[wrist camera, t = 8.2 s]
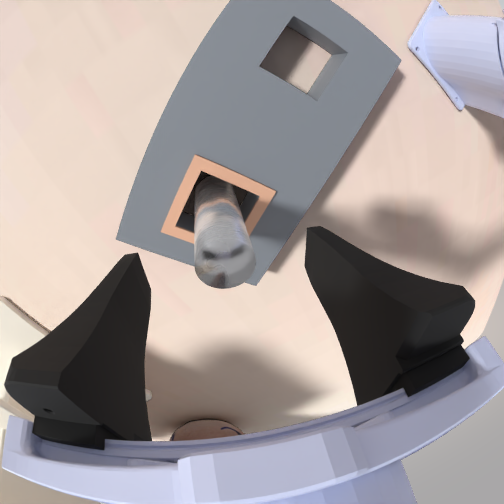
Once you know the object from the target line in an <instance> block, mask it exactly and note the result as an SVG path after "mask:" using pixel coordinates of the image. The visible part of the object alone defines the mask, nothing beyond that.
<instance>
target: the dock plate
mask: <svg viewBox="0 0 504 504" xmlns="http://www.w3.org/2000/svg"><path fill="white" fill-rule="evenodd" d="M286 25H287V26H289V27H290V28H292V29H294V30H295V31H297V32H299V33H300V34H302V35H303V36H305V37H307V38H308V39H310V40H311V41H313V42H314V43H316V44H317V45H319V46H320V47H322V48H323V49H324V50H326V51H327V52H329V53H330V54H331V55H332V56H331V58H330V59H329V61H328V62H327V64H326V65H325V67H324V68H323V70H322V71H321V73H320V74H319V76H318V78H317V79H316V81H315V82H314V84H313V85H312V87H311V89H310V90H309V92H308V93H307V94H305V93H304V92H302V91H301V90H299V89H297V88H296V87H294V86H293V85H291V84H289V83H288V82H286V81H284V80H282V79H281V78H279V77H277V76H276V75H274V74H272V73H270V72H268V71H267V70H265V69H263V68H261V67H259V66H260V64H261V63H262V61H263V59H264V58H265V56H266V55H267V53H268V52H269V50H270V49H271V47H272V46H273V44H274V43H275V41H276V40H277V38H278V37H279V35H280V34H281V33H282V31H283V30H284V28H285V27H286ZM401 61H402V60H401V59H400V58H399V57H398V56H397V55H396V54H395V53H394V52H393V51H392V50H391V49H390V48H389V47H388V46H387V45H385V44H384V43H383V42H382V41H381V40H380V39H379V38H378V37H377V36H376V35H374V34H373V33H372V32H371V31H370V30H369V29H367V28H366V27H365V26H364V25H363V24H361V23H360V22H359V21H358V20H356V19H355V18H354V17H353V16H351V15H350V14H349V13H347V12H346V11H345V10H343V9H342V8H341V7H339V6H338V5H336V4H335V3H334V2H332V1H331V0H230V1H229V3H228V4H227V5H226V7H225V8H224V10H223V11H222V12H221V14H220V15H219V17H218V18H217V19H216V21H215V22H214V24H213V25H212V27H211V28H210V30H209V31H208V33H207V34H206V36H205V38H204V39H203V41H202V42H201V44H200V45H199V47H198V49H197V50H196V52H195V54H194V55H193V57H192V59H191V60H190V62H189V64H188V66H187V67H186V69H185V71H184V73H183V75H182V76H181V78H180V80H179V82H178V84H177V86H176V88H175V90H174V91H173V93H172V95H171V97H170V99H169V101H168V103H167V105H166V107H165V109H164V112H163V114H162V116H161V118H160V120H159V122H158V124H157V127H156V129H155V131H154V133H153V136H152V138H151V140H150V143H149V145H148V147H147V150H146V152H145V155H144V157H143V160H142V162H141V165H140V167H139V170H138V173H137V175H136V178H135V181H134V184H133V186H132V189H131V192H130V195H129V198H128V201H127V204H126V207H125V210H124V213H123V217H122V220H121V223H120V226H119V230H118V233H117V237H116V240H119V241H122V242H124V243H127V244H130V245H133V246H136V247H139V248H141V249H144V250H147V251H150V252H153V253H156V254H159V255H162V256H165V257H168V258H171V259H174V260H177V261H180V262H183V263H186V264H189V265H192V266H195V255H194V216H192V215H190V214H187V213H184V212H182V210H183V208H184V206H185V203H186V201H187V199H188V197H189V195H190V193H191V191H192V189H193V186H194V184H195V182H196V180H197V178H198V176H199V174H200V172H201V171H203V172H206V173H208V174H210V175H213V176H215V177H217V178H220V179H222V180H224V181H227V182H229V183H231V184H234V185H236V186H238V187H240V188H243V189H245V190H247V191H249V192H248V193H247V195H246V197H245V199H244V200H243V202H242V204H241V206H240V207H239V208H240V211H241V214H242V217H243V220H244V223H245V226H246V229H247V232H248V235H249V238H250V241H251V244H252V247H253V251H254V254H255V257H256V267H255V270H254V272H253V274H252V275H251V276H250V278H249V279H248V280H246V281H245V283H248V284H251V285H255V286H256V285H257V284H258V282H259V281H260V279H261V278H262V277H263V275H264V274H265V272H266V271H267V269H268V268H269V266H270V265H271V263H272V262H273V261H274V259H275V258H276V256H277V255H278V253H279V252H280V250H281V249H282V247H283V246H284V244H285V243H286V241H287V240H288V238H289V237H290V235H291V234H292V232H293V231H294V229H295V228H296V226H297V225H298V223H299V222H300V220H301V219H302V217H303V216H304V214H305V213H306V211H307V210H308V208H309V207H310V205H311V204H312V202H313V201H314V199H315V198H316V196H317V195H318V193H319V192H320V190H321V189H322V187H323V186H324V184H325V182H326V181H327V179H328V178H329V176H330V175H331V173H332V172H333V170H334V169H335V167H336V165H337V164H338V162H339V161H340V159H341V158H342V156H343V155H344V153H345V151H346V150H347V148H348V147H349V145H350V144H351V142H352V140H353V139H354V137H355V136H356V134H357V132H358V131H359V129H360V128H361V126H362V124H363V123H364V121H365V120H366V118H367V116H368V115H369V113H370V112H371V110H372V108H373V107H374V105H375V104H376V102H377V100H378V99H379V97H380V95H381V94H382V92H383V90H384V89H385V87H386V86H387V84H388V82H389V81H390V79H391V77H392V76H393V74H394V72H395V71H396V69H397V67H398V66H399V64H400V62H401Z"/></svg>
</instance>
